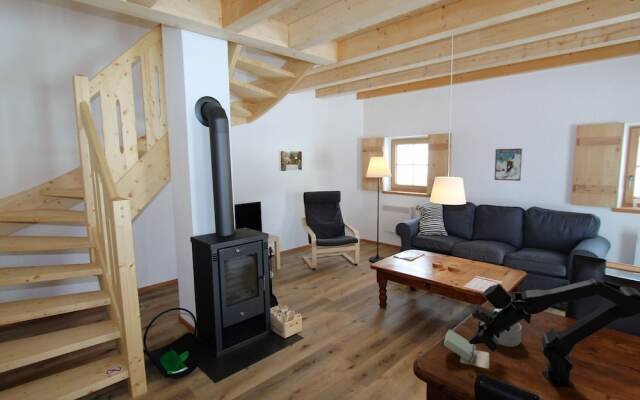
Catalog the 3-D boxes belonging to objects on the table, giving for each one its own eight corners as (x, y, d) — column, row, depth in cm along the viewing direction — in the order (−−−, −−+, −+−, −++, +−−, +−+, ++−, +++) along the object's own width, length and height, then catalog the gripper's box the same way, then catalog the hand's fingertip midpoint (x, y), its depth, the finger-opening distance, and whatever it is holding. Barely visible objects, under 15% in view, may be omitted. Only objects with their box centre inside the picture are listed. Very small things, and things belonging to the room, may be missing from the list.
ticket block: (488, 356, 124) (489, 352, 123) (488, 372, 115) (489, 368, 114) (461, 350, 127) (462, 347, 127) (459, 366, 119) (460, 362, 118)
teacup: (513, 355, 124) (514, 334, 123) (483, 342, 132) (484, 323, 131) (528, 341, 133) (529, 321, 132) (499, 330, 141) (500, 312, 140)
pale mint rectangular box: (475, 345, 124) (449, 328, 127) (474, 357, 117) (447, 339, 120) (471, 350, 125) (446, 334, 128) (470, 363, 118) (443, 345, 121)
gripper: (487, 289, 125) (454, 313, 131) (487, 311, 108) (449, 337, 114) (511, 313, 122) (476, 336, 129) (515, 339, 106) (475, 364, 112)
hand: (469, 342), depth 121 cm, fingers closed
